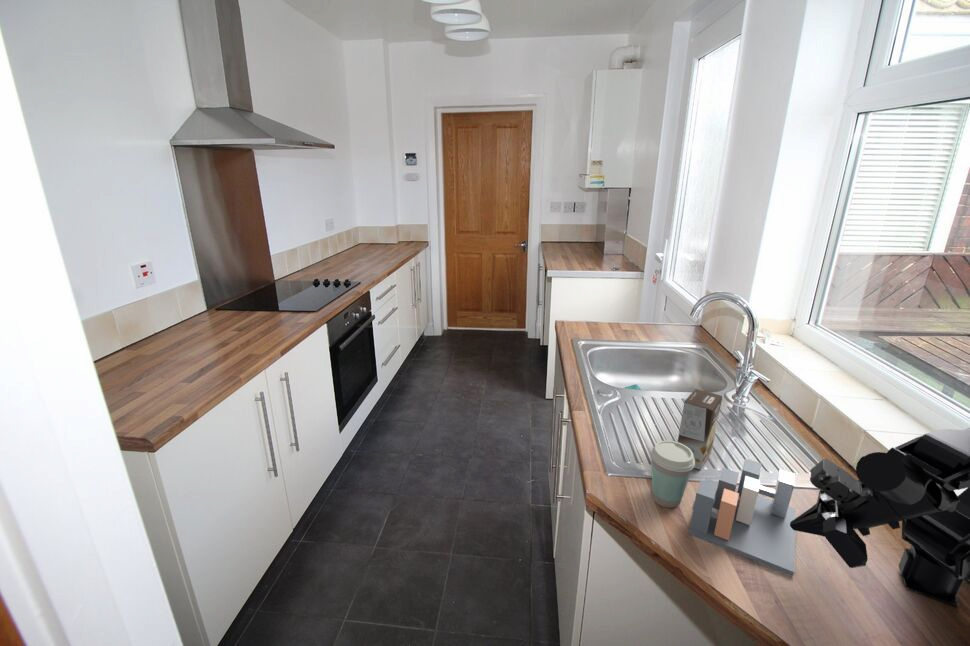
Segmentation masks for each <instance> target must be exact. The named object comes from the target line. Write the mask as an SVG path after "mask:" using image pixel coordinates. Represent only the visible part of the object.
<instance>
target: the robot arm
mask: <svg viewBox="0 0 970 646" xmlns="http://www.w3.org/2000/svg"><path fill="white" fill-rule="evenodd" d="M809 472H810V477H809V481H810V483H811V484H812V485H813V486H814V487H815V488H817V489H819V491H818V495H817V499H816V503H814V504H813V505H812V506H811V507H810V508H809V509H807V510H806V511H804V512H803V513H801V514H800V515H798V516H797V517H796V519H794V520H793V521H791V522H790V527H791V528H792V529H793V530H795V532H800V533H805V534H806V533H807V534H811V535H816V536H819V537H824V538H825V539H826V540H827V542H828V543H829V544H830V546H831V547H832V548H833V549H834V550H835V551H836V553H837V554H838V555H839V556H840V557H841V559H842V561H844V562H845V564H846V565H847V566H848V567H849V569H855V568H861V567H866V566H867V563H868V551H867V544H866V543H865V542H864V540H863V539H862V538H861V537H860V535H859V534H858V533H857V530H858V531H859V533H860V534H861V535H862V537H864V536H865V537H866V536H871V532H870V529H871V528H876V527H881V526H884V525H888V526H889V527H890V528H891V529H892V530H896V529H900V528H901V540H903V541H905V542H907V543H908V544H910V547H909V548H907V547H906V548H905V549H904V552H903V553H902V555H901V559H900V560H899V564H898V569H899V573H900V576H901V577H902V578H903V582H904V583H903V584H904V586H905V588H906V589H908V590H910V591H913V592H916V593H918V594H921V595H924V596H926V597H928V598H931V599H934V600H937V601H940V602H942V603H945V604H947V605H950V606H952V607H956V608H958V607H959V606H960V601H959V600H958V599H959V598H958V597H957V596H958V594H959V592H960V590H961V587H962V585H963V583H964V581H965V580H968V581H970V427H968V428H966V429H950V428H948V429H947V428H944V429H943V428H941V429H938V430H935V431H931V432H928V433H924V434H922V435H920V436H917V437H915V438H913V439H910V440H909V441H906V442H904V443H902V444H900V445H898V446H896V447H893V446H892V447H891V448H889V450H888V451H887V452H882V451H881V452H880V451H878V452H876V451H874V452H871V453H868V454H866V455H864V456H861V457H860V459H858V461H857V463H856V467H855V473H856V476H857V478H858V479H857V478H855V477H853V476H852V474H850V472H848V471H846V470H845V469H843V468H841V466H839V465H837V464H836V463H834V462H833V461H831V460H830V459H827V458H825V457H824V458H823V459H821V460H820V461H819V462H818V463H816V464H815V465H813V467H812V468H811V469H810V470H809ZM964 489H965V490H964ZM956 490H957V491H960V490H963V491H962V492H961V493H960V494H959V495H957V493H956ZM900 522H901V525H900Z"/></svg>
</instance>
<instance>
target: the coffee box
mask: <svg viewBox="0 0 970 646" xmlns="http://www.w3.org/2000/svg"><path fill="white" fill-rule="evenodd" d="M722 401H723V395H720V394H717V393H714V392H710V391H706V390H701V389H697V388H695V389H694V390H693V391H692V392H691V393H690V395H688V397H687V398H686V399H685V400H684V401H683V402H684V403H683V409H682V415H681V420H680V426H679V431H678V439H677V442H678V443H681V444H683V445H685V446H687V447H688V448H689V449H690V450H691V451H692V452H693V456H694V459H695V466H694V468H695V469H697V470H702V469H703V467H704V466H705V465H706V463H707V461H708V459H709V458H710V456H711V454H712V452H713V446H714V441H715V436H716V431H717V428H718V427H717V426H718V422H719V421H718V420H719V417H720V411H721V405H722ZM694 468H693V469H694Z"/></svg>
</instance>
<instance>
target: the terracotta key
mask: <svg viewBox="0 0 970 646" xmlns="http://www.w3.org/2000/svg"><path fill="white" fill-rule="evenodd" d="M738 496H739V493H736V492H733V491H731V490H728V489H725V488H724V491H723V495H722V499H721V504H720V509H719V510H718V509H715V508H712V512H711V517H714V518H716V519H717V523H716V527H715V532H714V535H716V536H718V537H721V538H723V539H726V540H728V541H729V537H730V532H731V528H732V524H733V519H734V515H735V510H736V506H737V501H738ZM694 503H695V500H693V504H692V507H691V509H692V511H693V508H694Z"/></svg>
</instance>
